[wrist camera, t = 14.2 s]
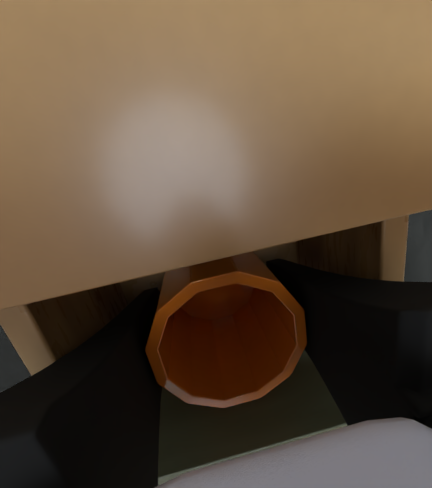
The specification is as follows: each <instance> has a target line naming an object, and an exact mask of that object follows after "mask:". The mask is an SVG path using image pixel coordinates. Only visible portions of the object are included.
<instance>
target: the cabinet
mask: <svg viewBox="0 0 432 488" xmlns="http://www.w3.org/2000/svg"><path fill="white" fill-rule="evenodd" d="M431 209H432V0H0V310H4V309H8V308H13V307H17V306H21V305H25V304H30V303H34V302H38V301H42V300H47V299H51V298H55V297H60V296H64V295H68V294H72V293H77V292H81V291H85V290H90V289H94V288H98V287H102V286H107V285H111V284H115V283H119V282H124V281H128V280H132V279H137V278H141V277H145V276H149V275H154V274H158V273H162V272H166V271H171V270H175V269H179V268H184V267H188V266H192V265H196V264H201V263H205V262H209V261H213V260H218V259H222V258H226V257H231V256H235V255H239V254H243V253H248V252H252V251H256V250H260V249H265V248H269V247H273V246H278V245H282V244H286V243H290V242H295V241H299V240H303V239H307V238H312V237H316V236H320V235H325V234H329V233H333V232H337V231H342V230H346V229H350V228H354V227H359V226H363V225H367V224H372V223H376V222H380V221H384V220H389V219H393V218H397V217H401V216H406V215H410V214H414V213H419V212H423V211H427V210H431Z"/></svg>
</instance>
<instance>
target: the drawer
mask: <svg viewBox="0 0 432 488" xmlns="http://www.w3.org/2000/svg"><path fill="white" fill-rule="evenodd" d="M408 222H409V215H406V216H401V217H397V218H393V219H389V220H384V221H380V222H376V223H372V224H367V225H363V226H359V227H354V228H350V229H346V230H342V231H337V232H333V233H329V234H325V235H320V236H316V237H312V238H307V239H303V240H299V241H295V242H290V243H286V244H282V245H278V246H273V247H269V248H265V249H260V250H256V251H254V253H255V254H256V255H257V256H258V257H259V258H260V259H261V260H262V262H263V263H264V264H265V265H266V261H269V260H274V259H284V260H287V261H291V262H294V263H298V264H301V265H304V266H308V267H311V268H315V269H319V270H323V271H327V272H331V273H336V274H341V275H346V276H352V277H359V278H366V279H376V280H387V281H402V282H404V271H405V259H406V246H407V234H408ZM163 274H164V272H162V273H158V274H154V275H149V276H145V277H141V278H137V279H132V280H128V281H124V282H119V283H115V284H111V285H107V286H102V287H98V288H94V289H90V290H85V291H81V292H77V293H72V294H68V295H64V296H60V297H55V298H51V299H47V300H42V301H38V302H34V303H30V304H25V305H21V306H17V307H13V308H8V309H4V310H0V325H1V326H2V328H3V330H4V331H5V333H6V335H7V336H8V338H9V340H10V341H11V343H12V344H13V346H14V348H15V349H16V351H17V353H18V354H19V356H20V358H21V359H22V361H23V362H24V364H25V366H26V367H27V369H28V371H29V372H30V374H31V375H34V374H36V373H37V372H39V371H41V370H42V369H44V368H46V367H47V366H49V365H51V364H52V363H54V362H55V361H57V360H58V359H60V358H61V357H63V356H64V355H66V354H68V353H69V352H71V351H72V350H74V349H75V348H77V347H78V346H79V345H81V344H82V343H84V342H85V341H86V340H88V339H89V338H90V337H92V336H93V335H94V334H96V333H97V332H98V331H99V330H101V329H102V328H103V327H104V326H105V325H106V324H108V323H109V322H110V321H111V320H112V319H113V318H114V317H116V316H117V315H118V314H119V313H120V312H121V311H122V310H123V309H124V308H125V307H126V306H127V305H129V304H130V303H131V302H132V301H133V300H134V299H135V298H136V297H137V296H138V295H139V294H140V293H142V292H143V291H144V290H147V289H151V288H156V287H158V290H159V288H160V284H161V280H162V277H163ZM346 426H347V424H346V422H345V420H344V418H343V416H342V414H341V412H340V410H339V408H338V407H337V405H336V403H335V401H334V399H333V397H332V396H331V394H330V392H329V390H328V388H327V386H326V385H325V383H324V381H323V379H322V378H321V376H320V374H319V372H318V371H317V369H316V367H315V365H314V364H313V362H312V360H311V359H310V357H309V356H308V354H307V353H306V351H305V350H304V351H303V353H302V355H301V357H300V359H299V361H298V363H297V365H296V367H295V369H294V371H293V372H292V374H291V375H290V376H289V377H288V378H287V379H286V380H284V381H283V382H282V383H280V384H279V385H278V386H276V387H275V388H274V389H272V390H271V391H270V392H269V393H267V394H266V395H265V396H263V397H262V398H260V399H256V400H252V401H249V402H245V403H242V404H238V405H234V406H231V407H227V408H218V407H210V406H202V405H194V404H188V403H185V402H184V401H182V400H181V399H179V398H178V397H176V396H175V395H174V394H172V393H171V392H169V391H168V390H166V389H165V388H163V387H162V394H161V406H160V426H159V456H158V486H159V485H161V484H163V483H165V482H167V481H169V480H171V479H173V478H175V477H177V476H179V475H181V474H183V473H186V472H190V471H193V470H197V469H200V468H204V467H207V466H210V465H214V464H217V463H221V462H224V461H228V460H231V459H235V458H238V457H242V456H245V455H249V454H252V453H256V452H259V451H262V450H266V449H269V448H273V447H276V446H280V445H283V444H287V443H290V442H294V441H297V440H301V439H304V438H308V437H311V436H315V435H318V434H321V433H325V432H328V431H332V430H335V429H339V428H342V427H346Z"/></svg>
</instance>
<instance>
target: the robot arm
mask: <svg viewBox="0 0 432 488" xmlns="http://www.w3.org/2000/svg"><path fill="white" fill-rule="evenodd" d="M266 266H267V267H268V268H269V270H270V271H271V272H272V273H273V274H274V275H275V276H276V278H277V279H278V280H279V281H280V282H281V283H282V284H283V285H284V287H285V288H286V289H287V290H288V291H289V292H290V293H291V295H292V296H293V297H294V298H295V299H296V300H297V301H298V303H299V304H300V305H301V306H302V307H303V308H304V311H305V323H306V335H307V345H306V347H305V349H304V350H305V351H306V353H307V354H308V356H309V357H310V359H311V360H312V362H313V364H314V365H315V367H316V369H317V371H318V372H319V374H320V376H321V378H322V379H323V381H324V383H325V385H326V386H327V388H328V390H329V392H330V394H331V396H332V397H333V399H334V401H335V403H336V405H337V407H338V408H339V410H340V412H341V414H342V416H343V418H344V420H345V422H346V424H347V426H346V427H342V428H339V429H335V430H332V431H328V432H325V433H321V434H318V435H315V436H311V437H308V438H304V439H301V440H297V441H294V442H290V443H287V444H283V445H280V446H276V447H273V448H269V449H266V450H262V451H259V452H256V453H252V454H249V455H245V456H242V457H238V458H235V459H231V460H228V461H224V462H221V463H217V464H214V465H210V466H207V467H204V468H200V469H197V470H193V471H190V472H186V473H183V474H181V475H179V476H177V477H175V478H173V479H171V480H169V481H167V482H165V483H163V484H161V485H159V486H158V456H159V426H160V406H161V394H162V386H160V385H159V384H158V383H157V381H156V378H155V376H154V373H153V370H152V368H151V365H150V363H149V360H148V357H147V355H146V352H145V346H146V342H147V338H148V334H149V330H150V326H151V322H152V317H153V313H154V309H155V305H156V301H157V297H158V293H159V290H158V287H156V288H151V289H147V290H144V291H143V292H142V293H140V294H139V295H138V296H137V297H136V298H135V299H134V300H133V301H132V302H131V303H130V304H129V305H127V306H126V307H125V308H124V309H123V310H122V311H121V312H120V313H119V314H118V315H117V316H116V317H114V318H113V319H112V320H111V321H110V322H109V323H108V324H106V325H105V326H104V327H103V328H102V329H101V330H99V331H98V332H97V333H96V334H94V335H93V336H92V337H90V338H89V339H88V340H86V341H85V342H84V343H82V344H81V345H79V346H78V347H77V348H75V349H74V350H72V351H71V352H69V353H68V354H66V355H64V356H63V357H61V358H60V359H58V360H57V361H55V362H54V363H52V364H51V365H49V366H47V367H46V368H44V369H42V370H41V371H39V372H37V373H36V374H34V375H32V376H30V377H29V378H27V379H25V380H23V381H21V382H20V383H18V384H16V385H14V386H12V387H11V388H9V389H7V390H5V391H3V392H1V393H0V488H432V282H402V281H387V280H376V279H366V278H359V277H352V276H346V275H341V274H336V273H331V272H327V271H323V270H319V269H315V268H311V267H308V266H304V265H301V264H298V263H294V262H291V261H287V260H284V259H274V260H269V261H266Z"/></svg>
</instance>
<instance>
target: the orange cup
mask: <svg viewBox="0 0 432 488" xmlns="http://www.w3.org/2000/svg"><path fill="white" fill-rule="evenodd" d="M306 345H307V335H306V323H305V311H304V308H303V307H302V306H301V305H300V304H299V303H298V301H297V300H296V299H295V298H294V297H293V296H292V295H291V293H290V292H289V291H288V290H287V289H286V288H285V287H284V285H283V284H282V283H281V282H280V281H279V280H278V279H277V278H276V276H275V275H274V274H273V273H272V272H271V271H270V270H269V268H268V267H267V266H266V265H265V264H264V263H263V262H262V260H261V259H260V258H259V257H258V256H257V255H256V254H255V253H254V251H252V252H248V253H243V254H239V255H235V256H231V257H226V258H222V259H218V260H213V261H209V262H205V263H201V264H196V265H192V266H188V267H184V268H179V269H175V270H171V271H166V272H164V274H163V277H162V280H161V284H160V288H159V293H158V297H157V301H156V305H155V309H154V313H153V317H152V322H151V326H150V330H149V334H148V338H147V342H146V346H145V352H146V355H147V357H148V360H149V363H150V365H151V368H152V370H153V373H154V376H155V378H156V381H157V383H158V384H159V385H160V386H162V387H163V388H165V389H166V390H168V391H169V392H171V393H172V394H174V395H175V396H176V397H178V398H179V399H181V400H182V401H184V402H185V403H188V404H194V405H202V406H210V407H218V408H227V407H231V406H234V405H238V404H242V403H245V402H249V401H252V400H256V399H260V398H262V397H263V396H265V395H266V394H267V393H269V392H270V391H271V390H272V389H274V388H275V387H276V386H278V385H279V384H280V383H282V382H283V381H284V380H286V379H287V378H288V377H289V376H290V375H291V374H292V372H293V371H294V369H295V367H296V365H297V363H298V361H299V359H300V357H301V355H302V353H303V351H304V349H305V347H306Z"/></svg>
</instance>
